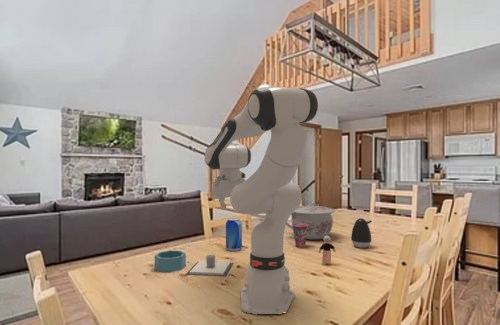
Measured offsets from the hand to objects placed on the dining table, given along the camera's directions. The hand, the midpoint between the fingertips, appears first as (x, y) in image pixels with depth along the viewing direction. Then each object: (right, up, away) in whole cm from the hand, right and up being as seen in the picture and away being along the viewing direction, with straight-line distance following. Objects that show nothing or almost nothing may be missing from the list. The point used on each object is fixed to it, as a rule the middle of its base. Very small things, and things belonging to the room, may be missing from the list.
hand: (229, 206), depth 137 cm
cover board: (-8, -26, -2) cm, 27 cm away
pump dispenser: (+68, -26, +32) cm, 80 cm away
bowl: (-26, -27, 0) cm, 37 cm away
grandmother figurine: (+43, -26, +4) cm, 51 cm away
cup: (+36, -26, +33) cm, 56 cm away
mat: (-8, -27, -2) cm, 28 cm away
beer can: (0, -27, +29) cm, 39 cm away
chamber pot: (+46, -26, +54) cm, 76 cm away
